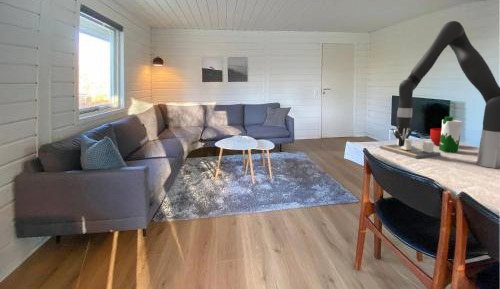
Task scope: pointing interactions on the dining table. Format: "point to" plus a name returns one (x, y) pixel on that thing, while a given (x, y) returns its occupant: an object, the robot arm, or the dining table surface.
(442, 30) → the robot arm
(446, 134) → the milk carton
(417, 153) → the panel
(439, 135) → the ceramic cup
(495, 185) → the dining table surface
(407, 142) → the block
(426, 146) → the block
